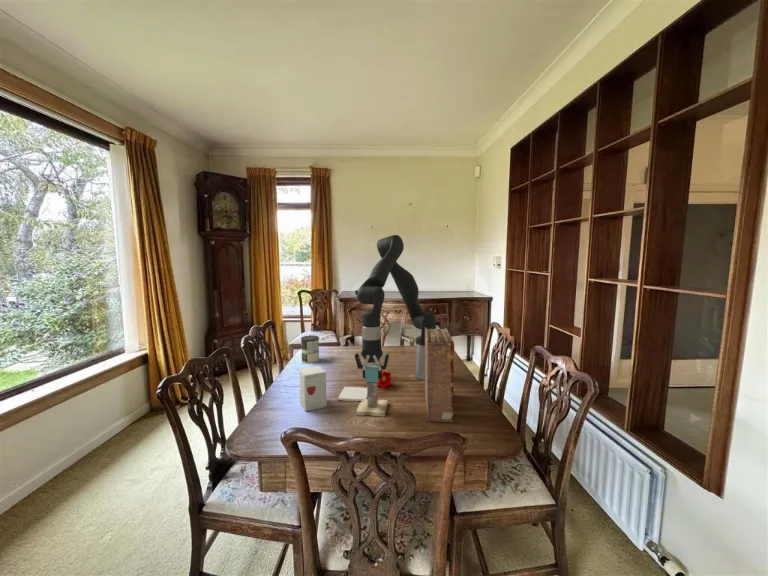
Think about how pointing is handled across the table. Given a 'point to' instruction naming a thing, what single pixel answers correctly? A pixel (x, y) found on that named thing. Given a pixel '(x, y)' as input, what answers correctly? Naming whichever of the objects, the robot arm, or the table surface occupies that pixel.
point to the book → (439, 375)
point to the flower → (384, 379)
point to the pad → (353, 394)
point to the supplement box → (312, 388)
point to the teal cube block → (371, 373)
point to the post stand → (372, 402)
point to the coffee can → (310, 349)
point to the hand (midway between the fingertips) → (372, 378)
